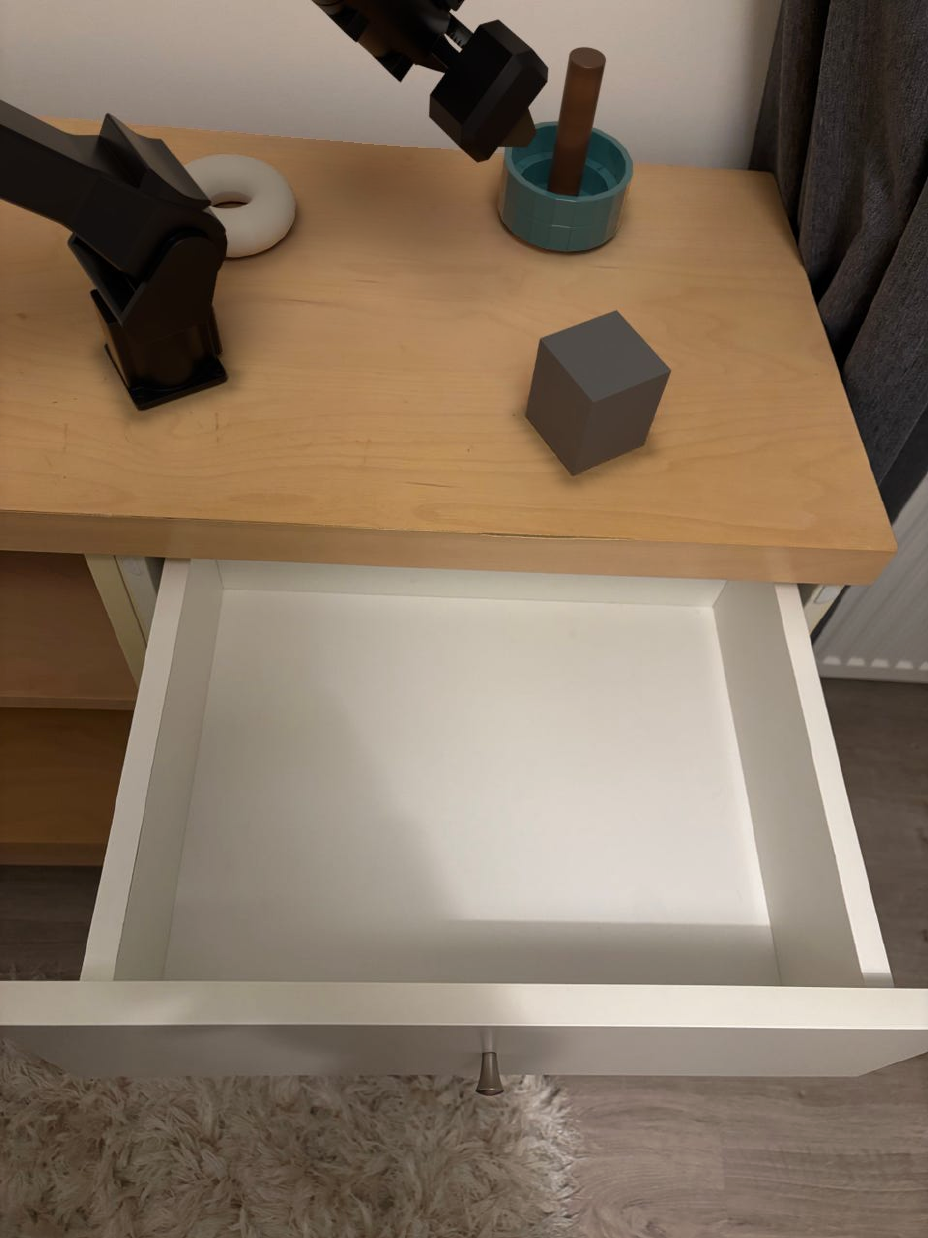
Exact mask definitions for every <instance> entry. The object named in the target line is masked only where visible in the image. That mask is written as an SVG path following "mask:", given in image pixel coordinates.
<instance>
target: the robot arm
mask: <svg viewBox="0 0 928 1238" xmlns="http://www.w3.org/2000/svg"><path fill="white" fill-rule="evenodd" d="M310 1H311V2H313V4H314V5H316V6H317V7H318V8H319V9H320V10H321V11H322V12H323V13H324V14H325V15H326V16H327V17H328V18H329V19H330V20H331V21H332V22H333V23H334V24H335V25H336V26H338V28H339V29H340V30H341V31H342V32H343V33H345V34H346V36H348V38H350V39H351V40H352V41H353V42H354V43H355V44H356V43H357V44H359V45H360V46H361V47H362V48H363V49H364V50H365V51H367V52H368V53H369V54H370V55H371V56H372V57H373V58H374V59H375V60H376V61H377V62H378V63H379V64H380V65H381V66H382V68H384V69H385V70H386V71H387V73H388V74H390V75H391V76H392V77H393V78H394V79H395V80H396V81H398V82H399V83H401V84H402V82H403V80H404V79H405V77H406V76H407V74H408V73H409V71H410V70H411V69H412V68H413V66H414V65H415V66H420V67H422V68H424V69H429V70H431V71H434V72H438V73H442V74H443V75H442V77H440V79H439V81H438V82H437V84H436V85H435V86H434V88H433V90H431V92H430V94H429V104H428V109H429V110H428V118H429V119H430V120H431V121H433V122H434V123H435V124H436V125H437V127H438V128H440V129H441V131H442V132H443V133H444V134H446V136H447V137H449V139H451V140H452V141H453V143H454V144H455V145H456V146H458V148H460V150H462V151H463V152H464V153H465V154H466V155H467V156H469V157H470V158H471V159H472V160H473V161H474V162H475V163H477V164H478V163H482V162H485V161H489V160H490V159H491V158H492V156H493V155H494V154H495V152H496V151H497V149H498V148H505V147H527V146H528V145H529V144H530V143H531V141H532V140H533V139H534V138H535V136H536V134H537V131H536V128H535V125H534V124H535V123H534V119H533V118H532V114H531V110H530V108H529V107H530V106H531V105H532V104H533V102H534V101H535V99H537V97H538V96H539V94H540V93H541V92H542V90H543V89H544V88H545V86H546V85H547V84H548V82H549V66H547V65H546V63H545V62H544V61H543V60H542V59H541V57H540V56H539V54H538V53H537V52H536V51H535V50H534V49H533V48H532V47H531V46H530V45H529V44H528V43H527V42H526V41H524V40H523V39H522V38H521V37H520V36H518V35H517V34H516V33H515V32H514V31H513V30H511V29H510V28H509V27H508V26H507V25H506V24H505V23H504V22H503V21H501V20H500V19H499V18H497V19H494V20H491V21H486V22H483V23H480V24H478V25H477V27H476V29H475V30H474V32H473V31H471V29H470V28H468V27H467V26H466V25H465V24H464V23H463V22H462V21H460V20H459V19H458V18H457V17H456V16H455V15H454V14H453V13H452V12H451V11H453V12H458V11H459V9H460V8H461V7H462V5H463V4H464V2H465V1H466V0H310ZM447 37H448V38H449V39H450V40H451V41H452V42H453V43H454V44H456V45H457V47H459V49H461V50H460V51H459V50H457V49H456V47H454V45H452V44H451V43H450V41H449V40H448V38H447ZM183 166H184V165H183V164H182V163H181V161H180V160H179V159H178V158H177V156H176V155H175V154H174V153H173V151H172V150H171V149H170V148H169V146H168V145H167V144H166V143H165V141H164V140H163V139H162V138H155V137H148V136H144V135H142V134H139V133H137V132H135V131H134V130H133V129H131V128H130V127H129V126H127V125H126V124H125V123H124V122H122V121H121V120H120V119H119V118H117V117H116V116H115V115H113V114H111V113H110V112H107V113H106V114H105V115H104V118H103V121H102V125H101V128H100V130H99V134H72V133H70V132H67V131H63V130H61V129H60V128H57V127H56V126H53V125H51V124H49V123H48V122H46V121H44V120H42V119H40V118H38V117H36V116H34V115H32V114H30V113H28V112H27V111H24V110H22V109H20V108H18V107H17V106H15V105H12V104H11V103H8V102H6V101H5V100H2V99H0V200H1V201H4V202H6V203H9V204H10V205H13V206H16V207H18V208H21V209H23V210H25V211H27V212H31V213H33V214H35V215H38V216H40V217H43V218H44V219H47V220H50V221H52V222H54V223H57V224H59V225H61V226H63V227H64V228H66V229H67V230H68V231H70V232H71V234H70V236H69V238H68V240H67V243H66V244H67V246H68V248H69V250H70V251H71V253H72V254H73V256H74V257H75V258H76V260H77V262H78V263H79V265H80V266H81V268H82V269H83V271H84V272H85V274H86V275H87V277H88V278H89V280H90V281H91V283H92V285H94V287H95V288H93V289H92V290H90V291H89V295H90V297H91V300H92V303H93V307H94V309H95V312H96V316H97V318H98V320H99V323H100V327H101V329H102V332H103V335H104V338H105V340H106V343H105V344H104V346H103V347H104V350H105V353H106V356H107V357H108V359H109V361H110V363H111V364H112V366H113V369H114V370H115V372H116V374H117V376H118V377H119V379H120V382H121V383H122V385H123V387H124V389H125V391H126V392H127V394H128V396H129V398H130V399H131V403H132V404H133V406H134V407H135V409H137V410H146V409H149V408H152V407H155V406H158V405H160V404H163V403H167V402H169V401H172V400H174V399H178V398H181V397H184V396H186V395H190V394H193V393H195V392H198V391H200V390H204V389H206V388H209V387H213V386H215V385H218V384H221V383H225V382H226V380H227V378H228V374H227V371H226V368H225V367H224V365H223V363H222V362H221V360H220V359H219V357H218V356H222V354H223V347H222V340H221V337H220V331H219V327H218V321H217V316H216V313H215V312H216V311H215V308H214V306H213V300H214V295H215V290H216V284H217V279H218V275H219V271H221V269H222V266H223V264H224V262H225V259H226V258H227V257H226V254H227V246H228V241H227V236H226V229H225V227H224V226H223V224H222V223H221V222H220V220H219V219H218V218H217V217H216V215H215V214H214V213H213V212H212V210H211V209H210V208H209V206H210V205H211V200H210V199H209V198H208V197H207V195H206V194H205V193H204V192H203V190H202V189H201V188H200V187H199V185H198V184H197V183H196V182H195V180H194V179H193V178H192V177H191V175H190V174H189V173H188V172H187V170H186V169H185V168H184V167H183Z"/></svg>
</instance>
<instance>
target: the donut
mask: <svg viewBox="0 0 928 1238" xmlns="http://www.w3.org/2000/svg"><path fill="white" fill-rule="evenodd" d="M183 167H184V168H185V169H186V170H187V172H188V173H189V174H190V175H191V177H192V178H193V179H194V180H195V182H196V183H197V184H198V185H199V187H200V188H201V189H202V190H203V192H204V193H205V194H206V195H207V197H208V198H209V199H210V200H211V205H210V206H209V208H210V209H211V210H212V212H213V213H214V214H215V215H216V217H217V218H218V219H219V220H220V222H221V223H222V224H223V226H224V227H225V229H226V236H227V241H228V246H227V254H226V258H241V257H247V256H253V255H256V254H258V253H261V252H264V251H266V250H268V249H270V248H271V247H273V246H275V245H276V244H277V243H278V242H280V241H281V240H282V239H284V238H285V237H286V235H287V233H288V232H289V230H290V229H291V227H292V225H293V224H294V221H295V216H296V213H295V212H296V203H297V200H296V197H295V194H294V192H293V189H292V186H291V184H290V182H289V181H288V179H287V178H286V177H285V176H284V175H283V174H282V173H281V172H280V171H279V170H278V169H277V168H276V167H274V166H273V165H270V164H269V163H267V162H265V161H263V160H261V159H259V158H257V157H252V156H249V155H245V154H241V153H239V154H238V153H219V154H212V155H210V154H209V155H205V156H201V157H200V158H196V159H194V160H191V161H189V162H188V163H186V164H185V165H183ZM227 202H241V203H244V204H243V205H241V206H238V207H232V208H221V207H215V206H216V205H218V204H221V203H227Z"/></svg>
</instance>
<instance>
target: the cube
mask: <svg viewBox="0 0 928 1238" xmlns="http://www.w3.org/2000/svg"><path fill="white" fill-rule="evenodd" d="M671 373H672V369H671V368H670V367H669V366H668V364H666V362H664V360H663V359H662V358H661V357H660V356H659V355H658V353H657V352H656V351H655V350H654V349H653V348H652V347H651V346H650V345H649V344H648V342H646V340H645V339H644V338H643V337H642V336H641V335H640V334H639V333H638V332H637V331H636V329H635V328H634V327H633V326H632V325H631V324H630V323H629V322H628V320H627V319H625V317H624V316H623V315H622V314H621V313H620V312H619V310H617V309H615V310H613V311H610V312H608V313H605V314H601V315H599V316H597V317H594V318H591V319H589V320H586V321H583V322H580V323H578V324H575V325H572V326H570V327H567V328H565V329H562V330H559V331H557V332H554V333H551V334H548V335H545V336H543V337H539V341H538V346H537V351H536V355H535V361H534V366H533V372H532V378H531V382H530V388H529V393H528V398H527V403H526V409H525V413H524V415H525V417H526V418H527V420H528V421H529V422H530V424H531V425H532V426H533V428H534V429H535V430H536V431H537V433H538V434H539V435H540V437H542V439H543V441H544V442H545V443H546V444H547V446H548V447H549V448H550V449H551V450H552V452H553V453H554V454H555V456H556V457H557V458H558V459H559V461H560V462H561V463H562V464H563V466H564V467H565V468H566V470H568V472H569V473H570V475H571V476H575V475H578V474H580V473H582V472H585V471H587V470H590V469H592V468H594V467H596V466H599V465H601V464H603V463H605V462H608V461H611V460H613V459H615V458H617V457H619V456H622V455H624V454H626V453H628V452H631V451H633V450H636V449H639V448H640V447H642V446H644V445H645V443H646V441H647V438H648V436H649V433H650V430H651V427H652V424H653V421H654V419H655V417H656V413H657V411H658V408H659V406H660V403H661V400H662V398H663V394H664V392H665V390H666V386H667V384H668V381H669V379H670V376H671Z"/></svg>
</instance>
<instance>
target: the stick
mask: <svg viewBox="0 0 928 1238" xmlns="http://www.w3.org/2000/svg"><path fill="white" fill-rule="evenodd" d="M606 63H607V57H606V55H605V54H604V53H603V52H602V51H600V50H598V49H596V48H594V47H587V46H580V47H576V48H574V49H572V50H571V51H570V52H569V53H568V61H567V67H566V71H565V72H566V73H565V78H564V84H563V89H562V96H561V102H560V106H559V107H560V108H559V113H558V120H557V121H558V125H557V131H556V137H555V143H554V149H553V155H552V161H551V166H550V172H549V178H548V184H547V190H546V191H549V192H552V193H554V194H558V195H566V196H573V197H579V192H580V187H581V182H582V177H583V172H584V167H585V162H586V157H587V152H588V148H589V143H590V138H591V133H592V128H593V127H594V123H595V118H596V113H597V108H598V103H599V98H600V93H601V89H602V83H603V79H604V74H605V68H606Z"/></svg>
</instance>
